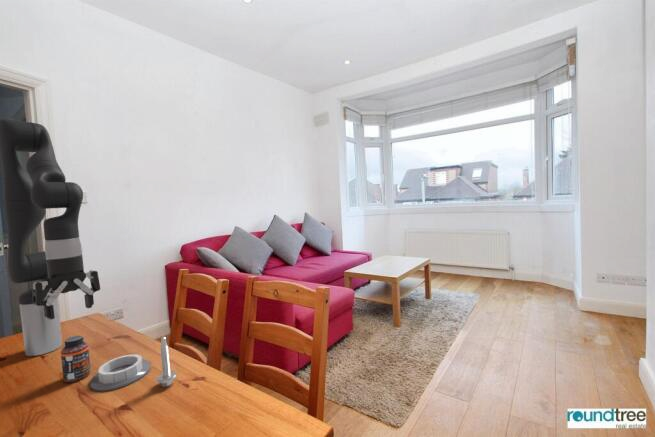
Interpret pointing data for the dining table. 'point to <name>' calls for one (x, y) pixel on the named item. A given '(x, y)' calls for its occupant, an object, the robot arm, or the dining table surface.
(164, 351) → the screw
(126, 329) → the dining table surface
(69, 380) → the supplement bottle
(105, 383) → the bottle coaster
